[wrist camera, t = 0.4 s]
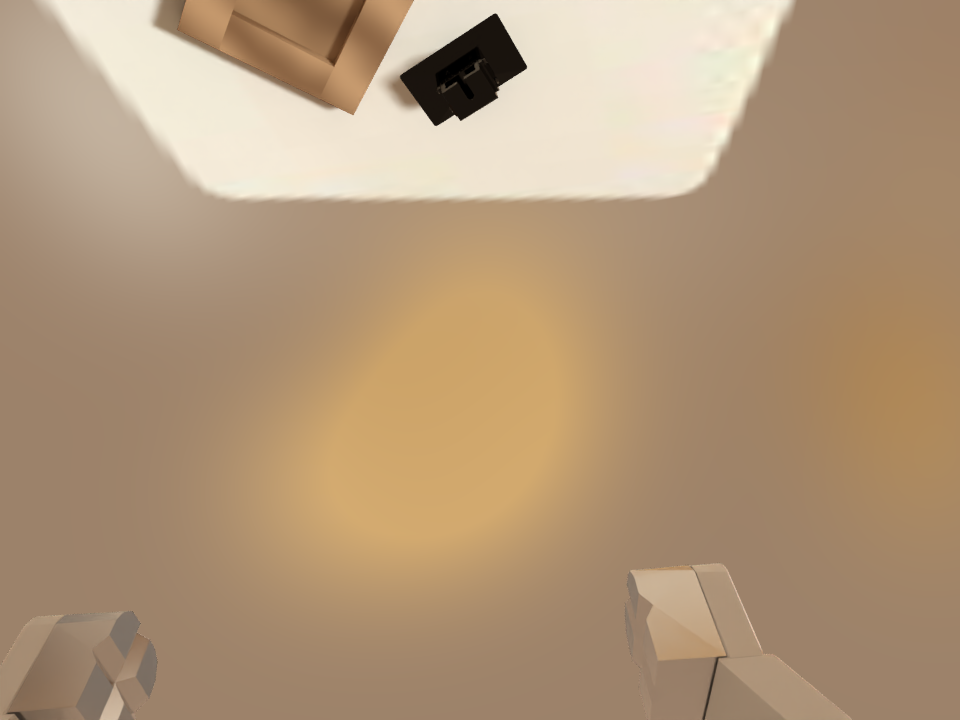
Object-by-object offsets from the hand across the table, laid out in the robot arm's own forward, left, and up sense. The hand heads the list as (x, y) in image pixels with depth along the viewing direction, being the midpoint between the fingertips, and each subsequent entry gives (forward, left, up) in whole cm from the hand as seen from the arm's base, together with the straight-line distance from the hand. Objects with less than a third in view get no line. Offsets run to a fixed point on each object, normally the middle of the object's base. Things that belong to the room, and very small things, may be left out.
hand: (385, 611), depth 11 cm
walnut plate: (+10, 0, -50) cm, 51 cm away
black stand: (+10, +14, -51) cm, 54 cm away
